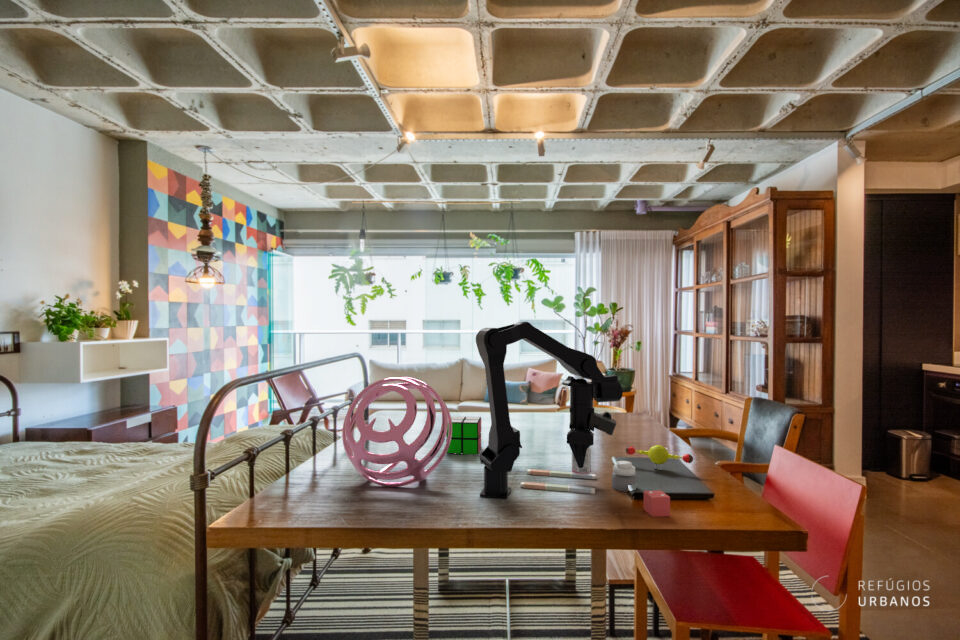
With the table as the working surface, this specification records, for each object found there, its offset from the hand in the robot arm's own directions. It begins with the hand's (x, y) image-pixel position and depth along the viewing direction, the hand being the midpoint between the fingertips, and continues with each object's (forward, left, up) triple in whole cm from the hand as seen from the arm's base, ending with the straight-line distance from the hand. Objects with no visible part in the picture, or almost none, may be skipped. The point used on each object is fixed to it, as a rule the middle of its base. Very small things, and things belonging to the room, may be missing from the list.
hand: (581, 464), depth 123 cm
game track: (0, 0, -5) cm, 5 cm away
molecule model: (+18, -21, -5) cm, 28 cm away
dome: (0, -11, -1) cm, 11 cm away
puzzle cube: (+24, +37, -5) cm, 45 cm away
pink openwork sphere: (-10, +46, -5) cm, 48 cm away
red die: (-15, -17, -5) cm, 23 cm away
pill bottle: (0, 0, -2) cm, 2 cm away
